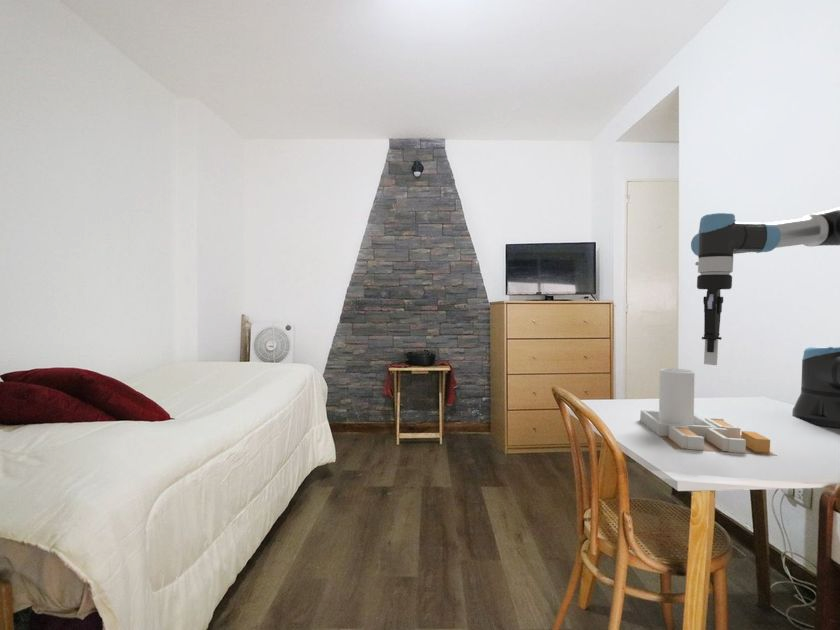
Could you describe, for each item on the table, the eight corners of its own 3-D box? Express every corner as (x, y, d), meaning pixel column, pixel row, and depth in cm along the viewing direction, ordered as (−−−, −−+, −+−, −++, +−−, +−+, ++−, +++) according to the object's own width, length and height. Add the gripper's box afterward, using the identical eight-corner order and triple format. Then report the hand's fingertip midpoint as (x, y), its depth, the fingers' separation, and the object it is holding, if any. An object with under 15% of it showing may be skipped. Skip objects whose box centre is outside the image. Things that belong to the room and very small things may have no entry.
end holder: (691, 423, 125) (692, 412, 125) (717, 439, 111) (717, 427, 111) (640, 420, 127) (640, 409, 127) (658, 435, 114) (659, 424, 113)
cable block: (754, 443, 108) (754, 431, 108) (769, 452, 102) (770, 439, 102) (741, 442, 109) (741, 431, 109) (755, 451, 103) (756, 439, 103)
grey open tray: (724, 440, 111) (725, 428, 111) (745, 452, 102) (745, 440, 102) (705, 438, 111) (706, 427, 111) (724, 451, 103) (724, 438, 102)
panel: (722, 428, 124) (722, 424, 124) (777, 460, 100) (777, 455, 100) (640, 424, 127) (640, 420, 127) (674, 453, 104) (674, 448, 104)
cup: (698, 433, 115) (699, 373, 114) (664, 431, 116) (665, 372, 116) (687, 425, 123) (687, 368, 122) (655, 423, 124) (655, 367, 124)
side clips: (721, 429, 120) (721, 418, 120) (764, 454, 101) (764, 441, 101) (653, 425, 123) (653, 414, 122) (683, 448, 104) (683, 436, 104)
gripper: (701, 275, 120) (697, 360, 121) (693, 273, 110) (689, 365, 111) (734, 274, 115) (730, 363, 116) (729, 272, 105) (724, 369, 107)
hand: (710, 364), depth 114 cm, fingers closed
